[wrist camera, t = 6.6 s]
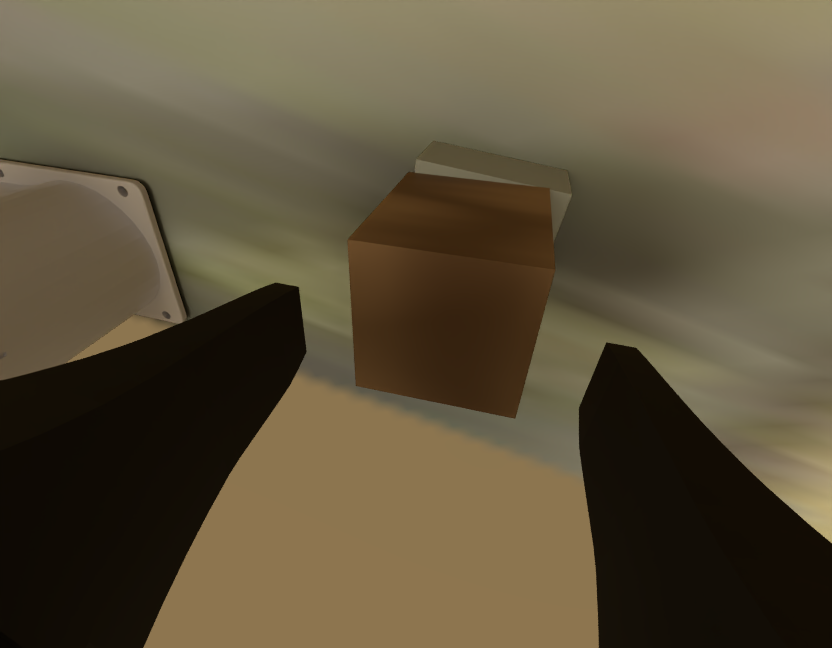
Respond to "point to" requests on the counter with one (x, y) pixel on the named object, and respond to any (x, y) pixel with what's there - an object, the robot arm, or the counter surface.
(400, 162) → the counter surface
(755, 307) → the counter surface
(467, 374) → the walnut block
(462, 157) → the slate block
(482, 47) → the counter surface
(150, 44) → the counter surface
